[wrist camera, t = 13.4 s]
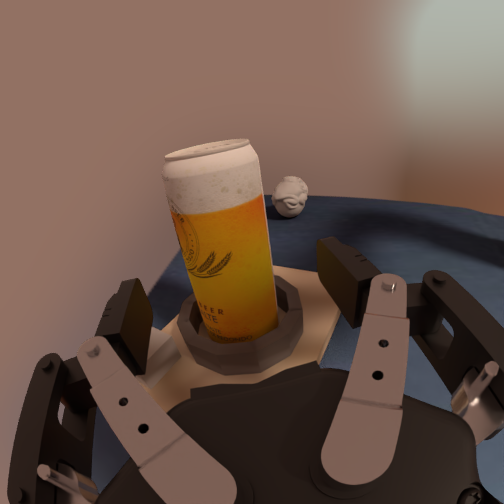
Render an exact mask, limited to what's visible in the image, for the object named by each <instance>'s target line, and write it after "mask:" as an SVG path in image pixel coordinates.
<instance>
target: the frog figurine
mask: <svg viewBox="0 0 504 504" xmlns="http://www.w3.org/2000/svg"><path fill="white" fill-rule="evenodd" d="M307 194H308V188H307V186H306V184H305V183H304V182H303V181H302V180H301V178H297V177H294V176H288V177H284V178H283V181H281V183H279V184H278V185H277V186H276V188H275V190H274V192H273V196H272V198H271V199H272V201H273V205H274V206H275V207H276V209H277V211H278V212H279V213H280V214H281V215H282V216H285V217H295V216H297V215H298V214H299V213H300V212H301V211H302V209H303V207H304V206H305V201H306V200H307Z"/></svg>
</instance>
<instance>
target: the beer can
mask: <svg viewBox="0 0 504 504" xmlns="http://www.w3.org/2000/svg"><path fill="white" fill-rule="evenodd" d="M164 158H165V164H164V168H163V173H162V179H163V183H164V187H165V191H166V195H167V199H168V203H169V207H170V211H171V215H172V219H173V223H174V226H175V230H176V233H177V237H178V241H179V244H180V248H181V251H182V255H183V258H184V261H185V265H186V268H187V271H188V275H189V278H190V281H191V284H192V287H193V291H194V294H195V297H196V300H197V303H198V306H199V309H200V312H201V315H202V318H203V321H204V324H205V327H206V329H207V332H208V335H209V337H210V338H211V340H212V341H214V342H217V343H220V344H230V343H241V342H251V341H254V340H256V339H257V338H259V337H261V336H263V335H265V334H267V333H269V332H270V331H272V330H274V329H276V328H278V325H279V315H278V306H277V297H276V289H275V280H274V272H273V264H272V256H271V248H270V240H269V232H268V225H267V217H266V209H265V202H264V195H263V187H262V180H261V173H260V166H259V159H258V155H257V154H256V152H255V151H254V150H253V148H252V147H251V145H250V143H249V140H248V139H233V140H226V141H218V142H213V143H207V144H202V145H198V146H194V147H190V148H186V149H182V150H179V151H176V152H173V153H170V154H168V155H166V156H165V157H164Z"/></svg>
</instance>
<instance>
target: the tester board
mask: <svg viewBox="0 0 504 504" xmlns="http://www.w3.org/2000/svg"><path fill="white" fill-rule="evenodd" d="M273 272H274V280H275V289H276V297H277V306H278V315H279V325H278V328H276V329H274V330H272V331H270V332H269V333H267V334H265V335H263V336H261V337H259V338H257V339H256V340H254V341H251V342H241V343H230V344H220V343H217V342H214V341H212V340H211V338H210V337H209V335H208V332H207V329H206V327H205V324H204V321H203V318H202V315H201V312H200V309H199V306H198V303H197V300H196V297H195V294H194V292H193V293H192V294H191V295H190V296H189V297H188V298H187V299H186V300H184V301H183V303H182V306H181V309H180V313H179V314H178V315H177V316H176V317H175V318H174V319H173V320H172V321H171V322H170V323H169V324H168V325H167V326H165V327H164V328H163V329H162V330H161V331H160V330H158V329H156V328H154V327H152V329H151V335H150V342H149V349H148V357H147V365H146V374H145V375H137V376H136V377H135V378H136V379H137V380H138V382H139V383H140V384H141V385H142V386H143V388H144V389H145V390H146V391H147V392H148V394H149V395H150V396H151V397H152V398H153V399H154V400H155V402H156V403H157V404H158V405H159V406H160V407H161V408H162V409H163V410H164V412H165V413H167V412H168V411H169V410H170V409H171V408H173V407H174V406H175V405H177V404H179V403H180V402H182V401H184V400H186V399H189V398H190V389H191V388H197V387H204V386H210V385H216V384H254V383H258V382H260V381H262V380H264V379H267V378H269V377H271V376H273V375H275V374H277V373H279V372H281V371H283V370H285V369H288V368H291V367H295V366H299V365H302V364H306V363H309V362H312V361H316V360H317V363H318V365H319V363H320V361H321V359H322V356H323V354H324V352H325V350H326V347H327V345H328V343H329V340H330V338H331V336H332V333H333V331H334V328H335V326H336V323H337V321H338V318H339V316H340V313H341V311H340V309H339V308H338V307H337V305H336V304H335V302H334V301H333V299H332V298H331V296H330V295H329V294H328V292H327V291H326V289H325V288H324V286H323V285H322V284H321V282H320V280H319V277H318V273H317V272H311V271H304V270H298V269H292V268H286V267H280V266H273Z"/></svg>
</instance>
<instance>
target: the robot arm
mask: <svg viewBox="0 0 504 504" xmlns="http://www.w3.org/2000/svg"><path fill="white" fill-rule="evenodd" d="M317 272H318V277H319V280H320V282H321V284H322V285H323V286H324V288H325V289H326V291H327V292H328V294H329V295H330V296H331V298H332V299H333V301H334V302H335V304H336V305H337V307H338V308H339V309H340V311H341V312H342V314H343V315H344V317H345V318H346V320H347V321H348V323H349V324H350V326H351V327H352V329H354V328H357V327H360V326H362V327H361V331H360V335H359V339H358V343H357V347H356V351H355V355H354V358H353V362H352V365H351V369H350V372H349V371H346V370H341V369H334V368H322V369H320V367H319V365H318V363H317V360H316V361H312V362H309V363H306V364H302V365H299V366H295V367H291V368H288V369H285V370H283V371H281V372H279V373H277V374H275V375H273V376H271V377H269V378H267V379H264V380H262V381H260V382H258V383H254V384H216V385H210V386H204V387H197V388H191V389H190V398H189V399H186V400H184V401H182V402H180V403H179V404H177V405H175V406H174V407H173V408H171V409H170V410H169V411H168V412H167V413H165V412H164V410H163V409H162V408H161V407H160V406H159V405H158V404H157V403H156V402H155V400H154V399H153V398H152V397H151V396H150V395H149V394H148V392H147V391H146V390H145V389H144V388H143V386H142V385H141V384H140V383H139V382H138V380H137V379H136V378H135V377H136V376H137V375H145V374H146V365H147V357H148V349H149V342H150V335H151V329H152V322H153V312H152V308H151V305H150V303H149V300H148V298H147V296H146V293H145V291H144V289H143V286H142V284H141V282H140V280H139V279H138V278H135V279H130V280H126V281H122V283H121V285H120V288H119V290H118V293H117V294H114V295H113V296H112V297H111V298H110V300H109V301H108V302H107V304H106V307H105V311H104V312H103V315H102V318H101V320H100V323H99V325H98V328H97V331H96V334H95V337H92V338H90V339H88V340H86V341H85V342H84V343H83V344H82V345H81V346H80V347H79V349H78V352H77V356H76V357H74V358H71V359H68V360H66V361H63V360H62V359H61V358H60V356H59V355H58V354H56V353H50V354H47V355H45V356H44V357H43V358H41V360H40V361H39V362H38V363H37V365H36V367H35V370H34V373H33V376H32V379H31V381H30V384H29V387H28V391H27V394H26V397H25V400H24V404H23V407H22V411H21V415H20V419H19V422H18V427H17V431H16V435H15V440H14V446H13V450H12V456H11V463H10V470H9V478H8V488H7V489H8V490H7V495H8V500H9V503H10V504H503V503H501V502H500V501H499V500H497V499H496V498H495V497H493V496H492V495H491V494H490V493H489V492H488V491H487V490H486V489H485V488H484V487H483V485H482V484H481V482H480V479H479V474H478V469H477V460H476V446H477V445H478V444H479V443H481V442H482V441H483V440H489V439H491V438H493V437H494V436H495V435H496V434H497V433H499V432H500V431H501V430H502V429H503V428H504V328H503V327H502V326H501V325H500V324H499V323H498V322H497V321H496V320H495V319H494V317H493V316H492V315H491V314H490V313H489V312H488V311H487V310H486V309H485V308H484V307H483V306H482V305H481V304H480V303H479V302H478V301H477V300H476V299H475V298H474V297H473V296H472V295H471V294H469V293H468V292H467V291H466V290H465V289H464V288H463V287H462V286H461V285H460V284H459V283H458V282H457V281H456V280H454V279H453V278H452V277H451V276H450V275H449V274H447V273H445V272H442V271H438V270H431V271H428V272H426V273H425V274H424V276H423V281H422V283H413V284H406V282H405V281H404V280H403V279H402V278H401V277H399V276H397V275H394V274H382V273H381V272H380V271H379V270H378V269H377V268H376V267H375V266H374V265H373V264H372V263H371V262H370V261H369V260H367V258H365V257H364V256H363V255H362V254H361V253H360V252H359V251H358V250H357V249H356V248H353V247H351V246H349V245H343V244H342V243H341V242H340V241H338V240H337V239H336V238H335V237H334V236H333V237H328V238H324V239H319V240H318V241H317ZM443 318H445V319H446V320H447V322H448V323H449V324H450V325H451V326H452V328H453V331H454V338H453V336H452V335H451V334H450V333H449V331H448V330H447V329H446V328H445V327H444V325H443V324H442V320H443ZM409 336H412V338H413V339H414V340H415V342H416V343H417V344H418V346H419V347H420V349H421V350H422V352H423V353H424V354H425V356H426V357H427V359H428V360H429V362H430V363H431V364H432V366H433V367H434V369H435V370H436V372H437V373H438V375H439V376H440V378H441V379H442V381H443V382H444V384H445V386H446V387H447V389H448V390H449V392H450V393H451V395H452V397H451V407H452V412H450V411H447V410H444V409H441V408H439V407H436V406H433V405H430V404H428V403H425V402H423V401H420V400H417V399H415V398H412V397H410V396H407V395H405V394H403V392H404V385H405V377H406V367H407V357H408V344H409ZM60 402H61V403H62V404H63V405H64V406H65V409H64V414H63V419H62V425H61V424H60V423H59V420H58V410H59V405H60ZM97 406H98V407H99V408H100V410H101V412H102V413H103V415H104V417H105V418H106V420H107V422H108V423H109V425H110V427H111V428H112V430H113V431H114V433H115V434H116V436H117V437H118V439H119V440H120V442H121V443H122V445H123V446H124V448H125V449H126V450H127V452H128V453H129V455H130V456H131V457H130V458H129V460H128V461H127V462H126V463H125V464H124V466H123V467H122V468H121V469H120V471H119V472H118V473H117V474H116V475H115V477H114V478H113V479H112V480H111V481H110V483H109V484H108V485H107V486H106V487H105V489H104V490H103V491H102V492H101V493H98V490H97V487H96V485H95V483H94V482H93V481H92V480H91V468H92V448H93V435H94V424H95V415H96V407H97Z"/></svg>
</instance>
